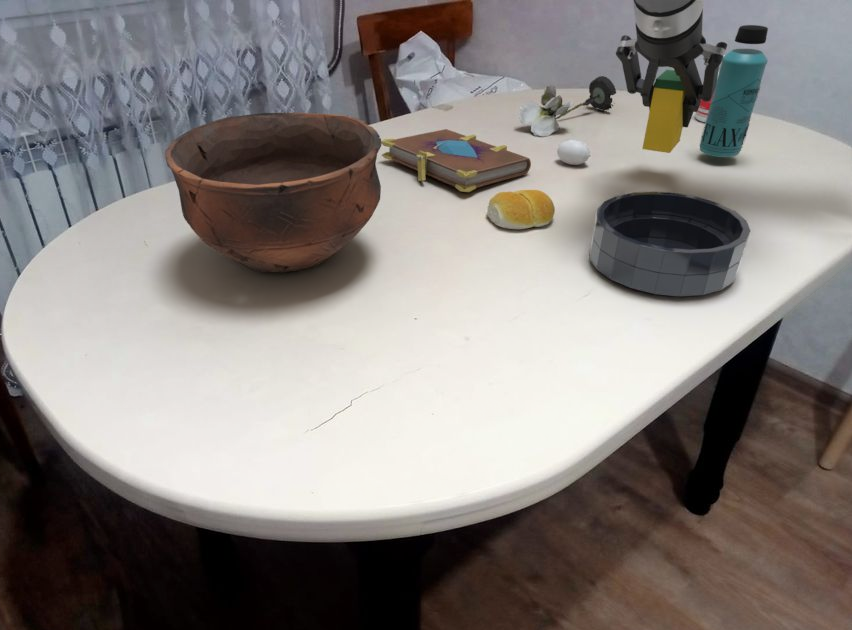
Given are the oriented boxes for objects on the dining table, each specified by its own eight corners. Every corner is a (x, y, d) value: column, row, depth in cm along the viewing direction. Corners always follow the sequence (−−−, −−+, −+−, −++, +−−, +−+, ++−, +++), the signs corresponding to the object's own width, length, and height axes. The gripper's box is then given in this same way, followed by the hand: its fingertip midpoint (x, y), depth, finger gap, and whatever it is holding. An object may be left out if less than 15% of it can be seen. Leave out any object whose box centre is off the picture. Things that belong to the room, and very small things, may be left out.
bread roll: (564, 225, 90) (567, 197, 87) (504, 235, 87) (506, 207, 85) (534, 202, 96) (537, 175, 94) (478, 211, 94) (480, 184, 91)
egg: (560, 157, 111) (563, 134, 109) (594, 164, 108) (597, 140, 106) (549, 163, 108) (552, 140, 106) (583, 171, 105) (587, 147, 103)
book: (432, 142, 121) (433, 114, 118) (532, 180, 105) (536, 149, 102) (359, 158, 113) (359, 128, 110) (456, 201, 97) (458, 168, 94)
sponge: (679, 141, 100) (695, 72, 95) (669, 153, 96) (685, 81, 90) (652, 137, 102) (666, 69, 96) (642, 149, 98) (655, 78, 92)
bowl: (154, 303, 76) (120, 176, 67) (226, 214, 95) (207, 107, 87) (368, 314, 72) (361, 183, 64) (396, 220, 92) (394, 109, 83)
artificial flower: (620, 121, 130) (637, 73, 122) (534, 157, 122) (546, 109, 114) (588, 99, 134) (602, 52, 126) (504, 133, 126) (513, 85, 118)
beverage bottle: (688, 159, 108) (721, 26, 97) (707, 150, 112) (742, 20, 100) (727, 169, 104) (766, 31, 92) (746, 159, 108) (786, 25, 96)
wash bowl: (745, 253, 82) (760, 207, 78) (719, 315, 70) (735, 266, 67) (612, 225, 89) (620, 182, 86) (569, 277, 78) (577, 231, 74)
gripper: (588, 36, 83) (607, 131, 104) (735, 47, 75) (724, 147, 96) (608, -17, 83) (623, 88, 104) (756, -12, 76) (740, 101, 96)
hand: (671, 116), depth 100 cm, fingers closed on sponge, 4 cm apart
